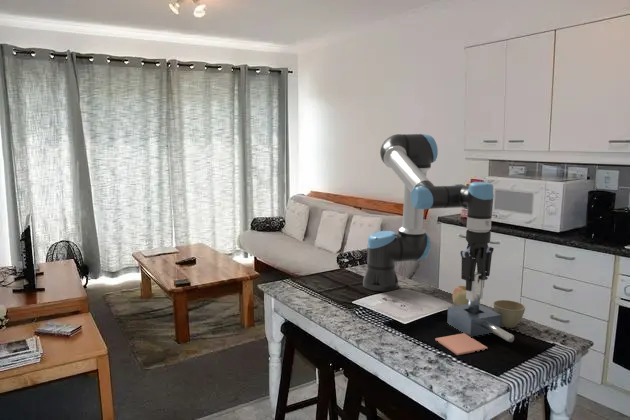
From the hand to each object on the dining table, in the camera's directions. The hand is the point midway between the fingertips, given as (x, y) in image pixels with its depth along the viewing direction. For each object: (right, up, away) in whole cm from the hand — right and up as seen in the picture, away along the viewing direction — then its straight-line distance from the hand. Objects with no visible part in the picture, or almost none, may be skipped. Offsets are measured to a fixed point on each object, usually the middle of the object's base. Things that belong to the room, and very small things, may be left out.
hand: (474, 298), depth 154 cm
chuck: (+2, -11, -4) cm, 12 cm away
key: (0, -5, +1) cm, 5 cm away
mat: (-8, -12, -11) cm, 18 cm away
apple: (+3, -8, +19) cm, 21 cm away
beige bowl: (+13, -10, +4) cm, 17 cm away
